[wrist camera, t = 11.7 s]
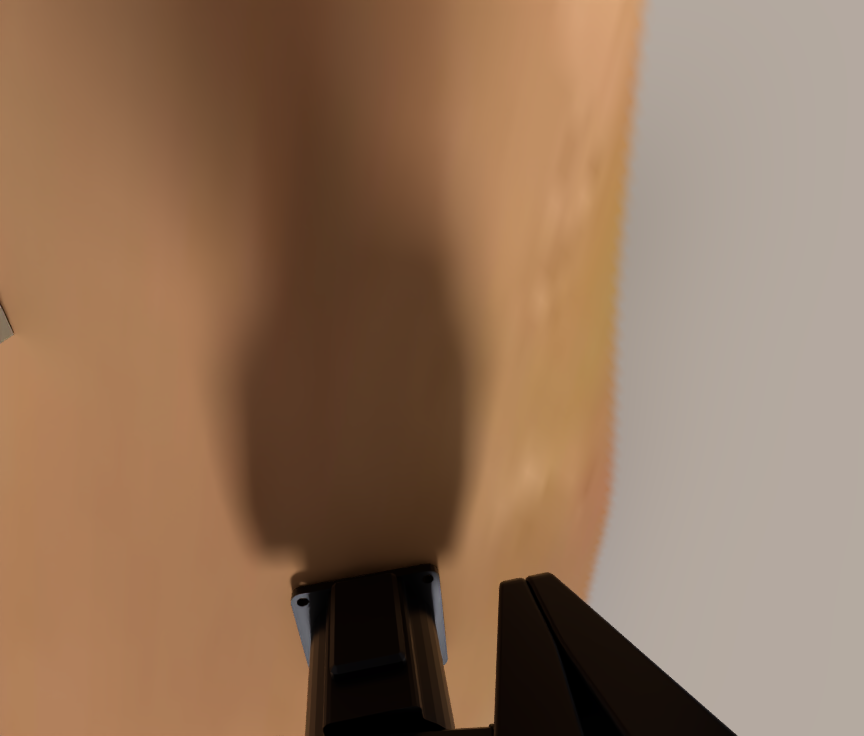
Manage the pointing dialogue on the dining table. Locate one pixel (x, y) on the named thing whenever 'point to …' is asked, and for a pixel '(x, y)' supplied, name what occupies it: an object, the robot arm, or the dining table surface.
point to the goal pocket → (4, 327)
